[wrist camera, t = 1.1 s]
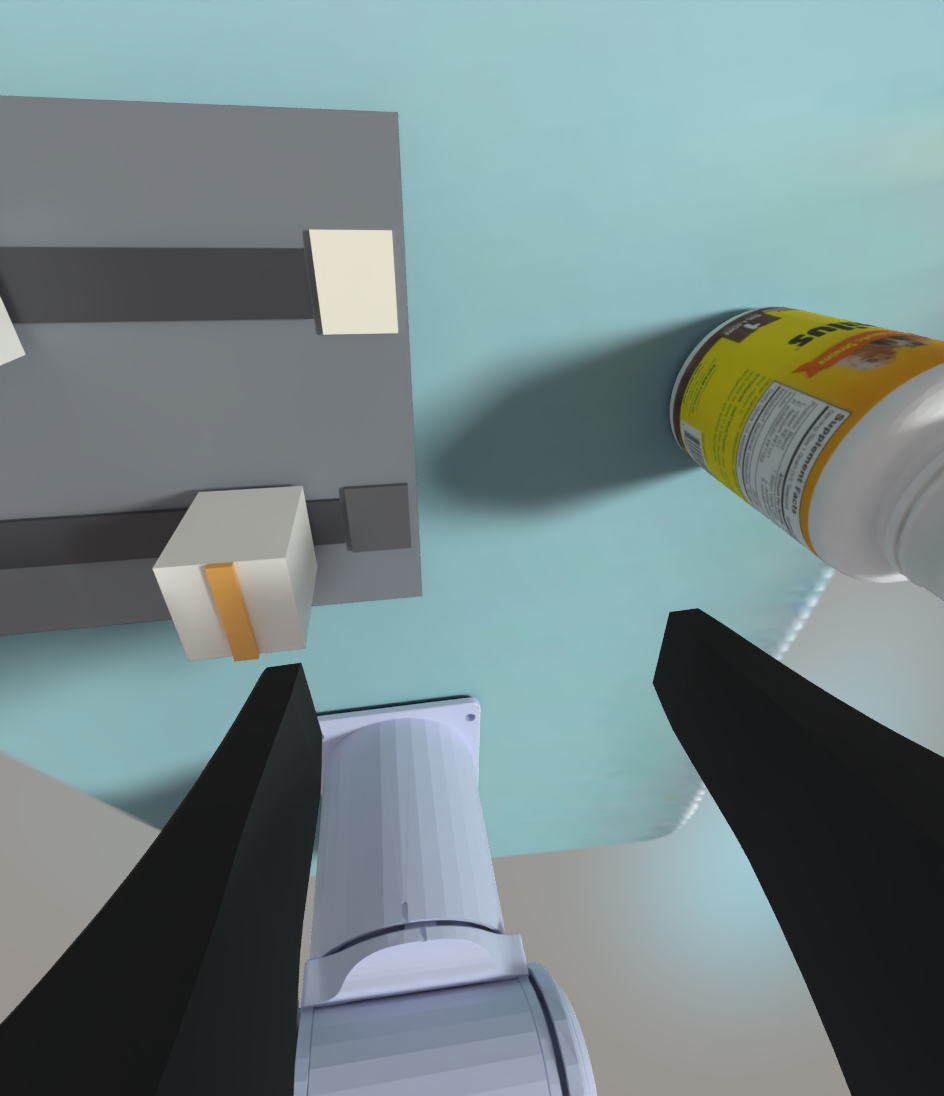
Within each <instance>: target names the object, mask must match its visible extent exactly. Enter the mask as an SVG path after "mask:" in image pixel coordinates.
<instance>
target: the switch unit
mask: <svg viewBox="0 0 944 1096" xmlns="http://www.w3.org/2000/svg"><path fill="white" fill-rule="evenodd" d="M0 297H1V299H2V301H3V304H4V306H5V308H6V311H7V313H8V315H9V318H10V320H11V322H12V324H13V327H14V329H15V331H16V334H17V336H18V338H19V340H20V343H21V345H22V347H23V350H24V352H25V354H26V355H24V356H22V357H19V358H17V359H15V360H12V361H10V362H7V363H5V364H3V365H0V635H10V634H21V633H32V632H42V631H53V630H64V629H75V628H85V627H96V626H107V625H117V624H128V623H139V622H150V621H160V620H171V619H172V617H171V615H170V612H169V609H168V607H167V604H166V602H165V599H164V597H163V594H162V592H161V589H160V587H159V584H158V582H157V579H156V576H155V574H154V571H153V569H152V568H153V567H154V565H155V563H156V562H157V560H158V558H159V557H160V555H161V553H162V552H163V550H164V548H165V547H166V545H167V543H168V542H169V540H170V539H171V537H172V535H173V534H174V532H175V530H176V529H177V527H178V525H179V524H180V522H181V520H182V519H183V517H184V515H185V514H186V512H187V510H188V509H189V507H190V506H191V504H192V502H193V501H194V499H195V497H196V496H197V494H198V492H209V491H226V490H242V489H259V488H275V487H292V486H303V491H304V496H305V502H306V507H307V512H308V518H309V523H310V529H311V534H312V540H313V545H314V551H315V556H316V562H317V572H316V579H315V586H314V593H313V600H312V606H321V605H332V604H343V603H353V602H364V601H375V600H385V599H396V598H407V597H418V596H422V581H421V562H420V542H419V522H418V502H417V483H416V463H415V443H414V424H413V404H412V384H411V364H410V345H409V325H408V305H407V286H406V266H405V246H404V226H403V207H402V187H401V167H400V148H399V128H398V112H378V111H354V110H331V109H307V108H283V107H260V106H236V105H212V104H188V103H165V102H141V101H117V100H93V99H70V98H46V97H22V96H0Z"/></svg>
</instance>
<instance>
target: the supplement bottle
mask: <svg viewBox="0 0 944 1096" xmlns="http://www.w3.org/2000/svg"><path fill="white" fill-rule="evenodd" d="M670 422H671V428H672V431H673V434H674V437H675V439H676V441H677V443H678V445H679V446H680V448H681V449H682V450H683V451H684V452H685V454H686V455H687V456H689V457H690V458H691V459H692V460H693V461H694V462H696V463H697V464H698V465H699V466H701V467H702V468H703V469H705V470H706V471H707V472H708V473H710V474H711V475H712V476H713V477H715V478H716V479H717V480H719V481H720V482H721V483H722V484H723V485H725V486H726V487H727V488H729V489H730V490H731V491H733V492H734V493H735V494H737V495H738V496H739V497H741V498H742V499H743V500H744V501H745V502H747V503H748V504H750V505H751V506H752V507H754V508H755V509H756V510H757V511H759V512H760V513H761V514H763V515H764V516H765V517H767V518H768V519H769V520H771V521H772V522H773V523H774V524H776V525H777V526H778V527H780V528H781V529H782V530H784V531H785V532H786V533H787V534H789V535H790V536H791V537H793V538H794V539H795V540H796V541H798V542H799V543H800V544H802V545H803V546H804V547H806V548H807V549H808V550H810V551H811V552H812V553H814V554H815V555H816V556H817V557H819V558H820V559H821V560H823V561H824V562H825V563H827V564H828V565H830V566H831V567H833V568H834V569H836V570H837V571H839V572H840V573H842V574H844V575H847V576H850V577H852V578H855V579H858V580H862V581H869V582H878V583H879V582H880V583H888V582H899V581H905V580H910V581H911V582H912V583H914V584H916V585H918V586H920V587H924V588H925V589H927V590H929V591H930V592H932V593H933V594H934V595H936V596H937V597H939V598H940V599H942V600H943V601H944V341H940V340H934V339H930V338H927V337H921V336H918V335H914V334H910V333H904V332H898V331H893V330H889V329H884V328H879V327H875V326H871V325H866V324H861V323H857V322H852V321H847V320H842V319H838V318H833V317H829V316H825V315H820V314H816V313H811V312H807V311H802V310H797V309H791V308H786V307H763V308H758V309H753V310H750V311H747V312H744V313H741V314H739V315H737V316H734V317H733V318H731V319H729V320H727V321H725V322H724V323H722V324H721V325H719V326H718V327H716V328H715V329H714V330H712V331H711V332H710V333H709V334H708V335H707V336H705V337H704V338H703V340H702V341H701V342H700V343H699V344H698V345H697V346H696V347H695V348H694V350H693V351H692V352H691V354H690V355H689V356H688V358H687V359H686V361H685V363H684V364H683V366H682V368H681V370H680V372H679V374H678V376H677V379H676V381H675V384H674V388H673V391H672V395H671V401H670Z"/></svg>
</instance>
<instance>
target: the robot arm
mask: <svg viewBox="0 0 944 1096" xmlns="http://www.w3.org/2000/svg"><path fill="white" fill-rule="evenodd" d="M653 685H654V687H655V690H656V692H657V695H658V697H659V699H660V702H661V704H662V707H663V709H664V711H665V713H666V716H667V718H668V720H669V722H670V724H671V727H672V729H673V731H674V732H675V734H676V736H677V738H678V740H679V741H680V743H681V745H682V746H683V748H684V750H685V752H686V753H687V755H688V757H689V758H690V760H691V762H692V764H693V765H694V767H695V769H696V770H697V772H698V774H699V775H700V777H701V779H702V780H703V782H704V784H705V785H706V787H707V789H708V790H709V792H710V794H711V795H712V797H713V799H714V800H715V802H716V804H717V805H718V807H719V809H720V811H721V812H722V814H723V816H724V817H725V819H726V821H727V822H728V824H729V826H730V827H731V829H732V831H733V832H734V834H735V836H736V838H737V839H738V841H739V843H740V845H741V847H742V849H743V850H744V852H745V854H746V856H747V858H748V859H749V861H750V863H751V866H752V868H753V870H754V872H755V874H756V876H757V878H758V880H759V882H760V884H761V886H762V888H763V891H764V893H765V895H766V897H767V899H768V900H769V903H770V905H771V907H772V909H773V911H774V913H775V916H776V918H777V920H778V922H779V924H780V926H781V929H782V931H783V933H784V935H785V938H786V940H787V942H788V944H789V947H790V949H791V951H792V953H793V955H794V958H795V960H796V962H797V964H798V966H799V968H800V971H801V973H802V975H803V978H804V980H805V982H806V984H807V987H808V989H809V992H810V994H811V997H812V999H813V1001H814V1003H815V1006H816V1009H817V1011H818V1013H819V1016H820V1018H821V1020H822V1023H823V1025H824V1028H825V1030H826V1032H827V1035H828V1037H829V1040H830V1042H831V1044H832V1047H833V1049H834V1052H835V1054H836V1057H837V1059H838V1062H839V1065H840V1067H841V1070H842V1072H843V1075H844V1077H845V1080H846V1083H847V1085H848V1088H849V1090H850V1093H851V1095H852V1096H944V757H942V756H940V755H938V754H936V753H934V752H932V751H930V750H929V749H927V748H925V747H923V746H921V745H919V744H917V743H915V742H913V741H911V740H909V739H907V738H905V737H904V736H902V735H900V734H898V733H896V732H894V731H893V730H891V729H889V728H887V727H885V726H884V725H882V724H880V723H878V722H876V721H875V720H873V719H871V718H869V717H868V716H866V715H865V714H863V713H861V712H859V711H858V710H856V709H854V708H853V707H851V706H849V705H847V704H846V703H844V702H842V701H841V700H839V699H837V698H836V697H834V696H832V695H831V694H829V693H827V692H826V691H824V690H823V689H821V688H819V687H818V686H816V685H815V684H813V683H812V682H810V681H808V680H807V679H805V678H804V677H802V676H801V675H799V674H798V673H796V672H794V671H793V670H791V669H790V668H788V667H787V666H785V665H783V664H782V663H781V662H779V661H778V660H776V659H775V658H773V657H772V656H770V655H768V654H767V653H765V652H764V651H762V650H761V649H759V648H758V647H756V646H755V645H753V644H752V643H750V642H749V641H747V640H746V639H745V638H743V637H742V636H740V635H739V634H737V633H736V632H734V631H733V630H731V629H730V628H728V627H727V626H725V625H724V624H722V623H720V622H719V621H717V620H716V619H714V618H713V617H711V616H710V615H708V614H706V613H705V612H703V611H702V610H700V609H698V608H697V609H690V610H682V611H675V612H669V617H668V621H667V625H666V629H665V633H664V638H663V642H662V646H661V650H660V654H659V659H658V663H657V667H656V671H655V675H654V680H653ZM480 710H481V708H480V704H479V701H478V700H477V699H476V698H470V697H469V698H461V699H453V700H445V701H436V702H428V703H420V704H412V705H404V706H396V707H388V708H380V709H372V710H363V711H355V712H347V713H339V714H331V715H323V716H317V714H316V711H315V708H314V704H313V701H312V698H311V694H310V691H309V687H308V684H307V681H306V677H305V674H304V670H303V667H302V664H301V663H296V664H289V665H282V666H274V667H267V668H266V669H265V670H264V672H263V673H262V674H261V676H260V678H259V680H258V681H257V683H256V685H255V687H254V688H253V690H252V692H251V694H250V695H249V697H248V699H247V701H246V702H245V704H244V706H243V708H242V709H241V711H240V713H239V714H238V716H237V718H236V719H235V721H234V723H233V724H232V726H231V728H230V729H229V731H228V733H227V734H226V736H225V738H224V739H223V741H222V742H221V744H220V745H219V747H218V749H217V750H216V752H215V753H214V755H213V756H212V758H211V759H210V761H209V763H208V764H207V766H206V767H205V769H204V770H203V772H202V773H201V775H200V777H199V778H198V780H197V781H196V783H195V784H194V786H193V787H192V789H191V790H190V791H189V793H188V794H187V796H186V797H185V798H184V800H183V801H182V803H181V804H180V806H179V807H178V808H177V810H176V811H175V813H174V814H173V816H172V817H171V818H170V820H169V821H168V823H167V824H166V825H165V827H164V828H163V830H162V831H161V833H160V834H159V835H158V837H157V838H156V839H155V841H154V842H153V844H152V845H151V846H150V848H149V849H148V850H147V852H146V853H145V854H144V856H143V857H142V858H141V860H140V861H139V862H138V863H137V865H136V866H135V867H134V869H133V870H132V872H130V874H129V875H128V876H127V878H126V879H125V880H124V882H123V883H122V884H121V885H120V887H119V888H118V889H117V890H116V891H115V893H114V894H113V895H112V896H111V898H110V899H109V900H108V901H107V903H106V904H105V905H104V906H103V908H102V909H101V910H100V911H99V913H98V914H97V915H96V916H95V917H94V919H93V920H92V921H91V922H90V923H89V924H88V926H87V927H86V928H85V929H84V930H83V931H82V933H81V934H80V935H79V936H78V937H77V938H76V940H75V941H74V942H73V943H72V945H70V947H69V948H68V949H67V950H66V951H65V953H64V954H63V955H62V956H61V957H60V958H59V960H58V961H57V962H56V963H55V964H54V965H53V967H52V968H51V969H50V970H49V971H48V972H47V974H46V975H45V976H44V977H43V978H42V979H41V980H40V981H39V983H38V984H37V985H36V986H35V987H34V988H33V989H32V990H31V991H30V993H29V994H28V995H27V996H26V997H25V998H24V999H23V1001H22V1002H21V1003H20V1004H19V1005H18V1006H17V1007H16V1008H15V1009H14V1010H13V1011H12V1012H11V1013H10V1015H9V1016H8V1017H7V1018H6V1019H5V1020H4V1021H3V1022H2V1023H1V1024H0V1096H597V1091H596V1085H595V1081H594V1076H593V1071H592V1067H591V1063H590V1059H589V1055H588V1052H587V1048H586V1044H585V1041H584V1038H583V1034H582V1031H581V1029H580V1026H579V1023H578V1020H577V1018H576V1015H575V1013H574V1010H573V1008H572V1006H571V1004H570V1002H569V1000H568V998H567V996H566V994H565V993H564V991H563V990H562V989H561V987H560V986H559V985H558V984H557V983H556V982H555V981H554V979H553V978H552V976H551V975H550V974H549V972H548V971H547V970H546V969H545V968H544V967H543V966H542V965H540V964H537V963H534V962H532V963H526V959H525V953H524V949H523V944H522V939H521V935H520V934H518V933H516V934H505V929H504V924H503V919H502V913H501V908H500V903H499V897H498V892H497V887H496V882H495V877H494V871H493V866H492V861H491V855H490V850H489V845H488V840H487V834H486V829H485V824H484V818H483V813H482V808H481V803H480V797H479V792H478V774H479V742H480ZM468 714H470V715H468ZM320 792H321V796H322V808H321V821H320V833H319V846H318V859H317V871H316V885H315V897H314V910H313V922H312V935H311V948H310V959H309V960H307V961H306V962H305V967H304V978H303V989H302V1002H301V1008H299V1000H298V983H299V964H300V948H301V938H302V927H303V919H304V911H305V903H306V897H307V889H308V882H309V875H310V867H311V860H312V853H313V845H314V838H315V831H316V823H317V816H318V808H319V800H320Z"/></svg>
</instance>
